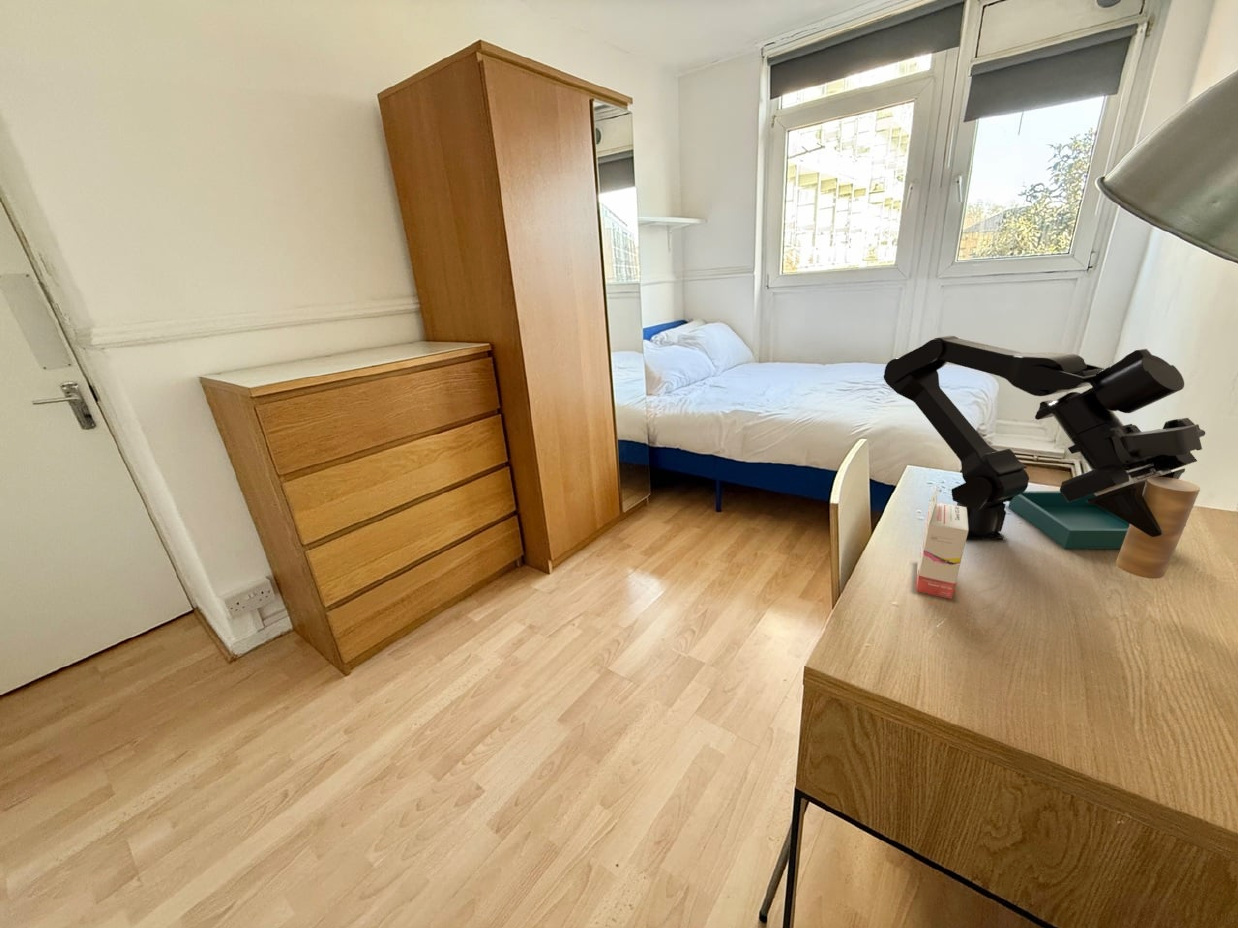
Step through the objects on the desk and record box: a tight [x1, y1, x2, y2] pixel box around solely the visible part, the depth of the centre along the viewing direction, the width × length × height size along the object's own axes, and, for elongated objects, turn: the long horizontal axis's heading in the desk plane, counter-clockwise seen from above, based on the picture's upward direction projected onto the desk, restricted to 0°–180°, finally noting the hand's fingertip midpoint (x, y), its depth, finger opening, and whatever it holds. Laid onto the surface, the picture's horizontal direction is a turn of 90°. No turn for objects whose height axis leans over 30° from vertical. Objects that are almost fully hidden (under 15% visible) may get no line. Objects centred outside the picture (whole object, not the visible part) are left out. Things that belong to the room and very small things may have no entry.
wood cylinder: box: [1115, 477, 1201, 580], centre depth 66 cm, size 5×5×13 cm
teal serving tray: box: [1007, 490, 1130, 550], centre depth 89 cm, size 16×16×4 cm
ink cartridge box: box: [916, 485, 968, 600], centre depth 74 cm, size 9×5×15 cm, turn 149°
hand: (1169, 531), depth 65 cm, fingers closed on wood cylinder, 5 cm apart
